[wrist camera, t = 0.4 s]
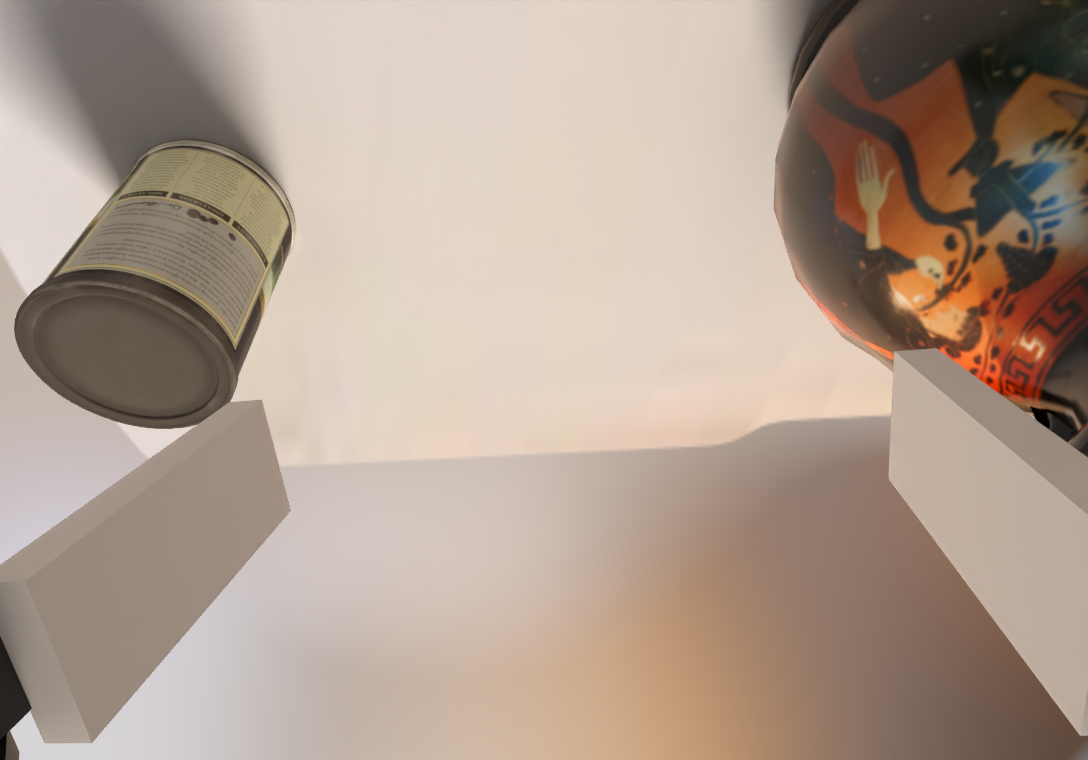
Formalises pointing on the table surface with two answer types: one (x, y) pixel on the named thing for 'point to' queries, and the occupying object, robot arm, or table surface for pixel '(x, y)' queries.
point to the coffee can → (162, 289)
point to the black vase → (948, 189)
